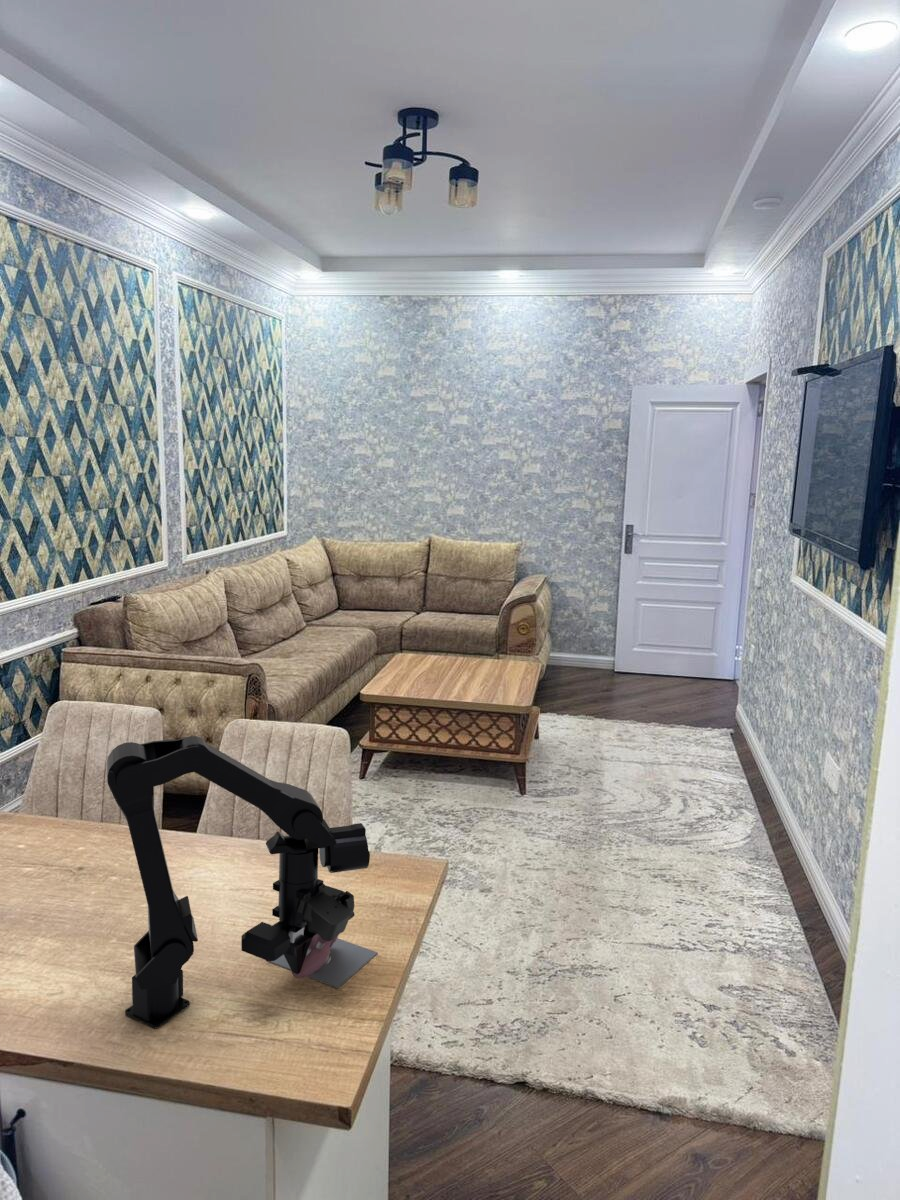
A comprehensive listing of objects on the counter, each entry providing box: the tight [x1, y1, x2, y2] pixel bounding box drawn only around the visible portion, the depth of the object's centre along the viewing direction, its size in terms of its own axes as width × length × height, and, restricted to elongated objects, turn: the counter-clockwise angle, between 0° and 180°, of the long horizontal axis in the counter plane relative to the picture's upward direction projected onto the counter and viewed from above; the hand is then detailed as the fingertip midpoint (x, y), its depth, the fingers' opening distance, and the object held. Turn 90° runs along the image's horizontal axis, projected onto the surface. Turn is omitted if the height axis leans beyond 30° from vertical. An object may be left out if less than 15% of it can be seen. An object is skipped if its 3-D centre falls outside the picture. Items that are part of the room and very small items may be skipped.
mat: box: [265, 937, 379, 989], centre depth 136 cm, size 11×14×1 cm
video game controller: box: [290, 934, 340, 979], centre depth 133 cm, size 10×5×7 cm, turn 172°
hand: (296, 972), depth 128 cm, fingers closed
